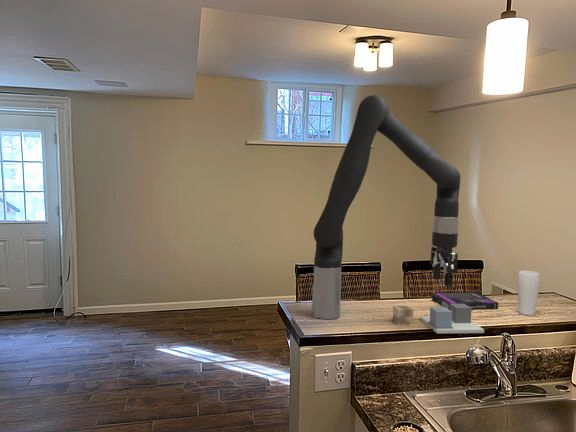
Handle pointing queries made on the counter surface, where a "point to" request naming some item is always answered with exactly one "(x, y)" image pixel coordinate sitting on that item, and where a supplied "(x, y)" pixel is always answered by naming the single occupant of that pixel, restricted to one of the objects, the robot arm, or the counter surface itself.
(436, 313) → the slate block
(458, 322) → the build plate
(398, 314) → the maple block
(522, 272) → the drinking glass
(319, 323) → the counter surface
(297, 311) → the counter surface
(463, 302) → the box
